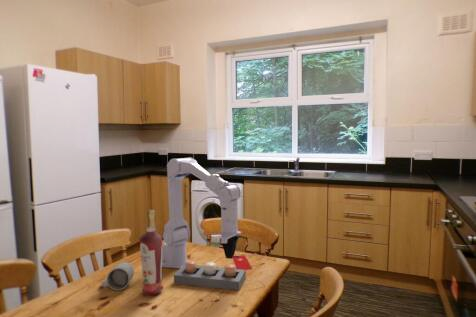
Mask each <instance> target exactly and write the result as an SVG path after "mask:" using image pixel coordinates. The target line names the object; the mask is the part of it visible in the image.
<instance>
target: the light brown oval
mask: <svg viewBox="0 0 476 317" xmlns="http://www.w3.org/2000/svg"><path fill="white" fill-rule="evenodd" d="M223 268H224V269H225V276H227V277H233V276H235V275H236V269H237V267H236V265H235V263H234V264H233V263H228V264H225V265H224V267H223Z"/></svg>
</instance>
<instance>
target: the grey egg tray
mask: <svg viewBox="0 0 476 317" xmlns="http://www.w3.org/2000/svg"><path fill="white" fill-rule="evenodd" d="M246 272H247V270H241V269H237V268H236V275H235V276H233V277H227V276H225V269H224V267H219V266H218V267H217V266H216V273H215V274H212V275H207V274H205V265H197V264H196V271H195V272H193V273H187V272H186V271H185V265H184V266H183V267H182V268H181V269H180V268H179V269H178V270H177V271H176V272H175V273H174V274H173V283H174V284H178V285H187V286H189V285H190V286H195V287H196V286H197V287H204V288H205V287H206V288H215V289H224V290H233V291H240V289H241V287H242V286H243V284H244V282H245V280H246V278H247V275H246Z"/></svg>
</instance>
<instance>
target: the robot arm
mask: <svg viewBox="0 0 476 317" xmlns="http://www.w3.org/2000/svg"><path fill="white" fill-rule="evenodd" d="M166 170H167V172H166V174H167V175H166V176H167V178H166V180H167V193H168V195H167V196H168V208H169V209H168V213H169V214H168V215H169V220H168V221H167V222H166V224H164V226H163V227H164V228H163V229H164V232H163V235H162V239H163V241H164V243H162V268H170V269H171V268H172V269H179V270H180V269H181V268H182V267H183V266H184V265H185V262H187V261H191V260H189V259H187V242H188V239H189V238H190V236H191V230H190V228H189V223H188V221H186V220H185V219H184V208H183V206H184V205H183V191H182V190H183V189H182V186H183V184H182V181H183V180H184V178H186V177H187V176H189V175H190V174H191V175H193V176H195V177H196V178H198V179H200V180H201V181H203V182H204V184H205V187H206V188H207V189H209V190H210V191H211V192H213V193H214V194H215V195H216V196H217V198H218V201H219V205H220V208H221V209H220V214H221V216H220V217H221V221H220V222H221V231H220V236H221V237H220V239H219V243H220V244H221V247H222V248H223V252H224V256H225V258H226V259H228V260H229V259H231V260H233V258H232V256H235V252H236V247H237V244H238V240H239V239H240V235H241V234H242V231H239V230H238V228H239V227H238V226H239V224H238V218H239V217H238V213H239V212H238V200H240V198H241V194H242V192H241V189H240V187H239V186H238V184H235V183H230V182H229V181H227V180H224V179H223V178H222V177H221V176H220V175H219V174H218V173H212V174H211V173H209V172H208V171H207V170H206V169H205V168H204V167H202V166H201V165H200V164H198V161H197V160H196V159H194V158H193V157H191V156H189V157H184V158H183V157H182V158H171V159H170V160H169V161H168V162H167V164H166Z"/></svg>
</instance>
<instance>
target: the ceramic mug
mask: <svg viewBox="0 0 476 317" xmlns="http://www.w3.org/2000/svg"><path fill="white" fill-rule="evenodd" d="M134 274H135V269H134V267H133V265H132V264H131V263H129V262H125V261H124V262H120V263H118V264H117V265H115V266H114V267H113V268H112V269H111V270H110V271H109V272H108V274H107V276H106V278H105V279H104V280H103V281H102V282H101V286H102V287H103V288H106V287H109V288H111V290H114V291H122V290H125V289H126V287H127V286H129V283H130V282H131V280H132V279H133V277H134Z"/></svg>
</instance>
